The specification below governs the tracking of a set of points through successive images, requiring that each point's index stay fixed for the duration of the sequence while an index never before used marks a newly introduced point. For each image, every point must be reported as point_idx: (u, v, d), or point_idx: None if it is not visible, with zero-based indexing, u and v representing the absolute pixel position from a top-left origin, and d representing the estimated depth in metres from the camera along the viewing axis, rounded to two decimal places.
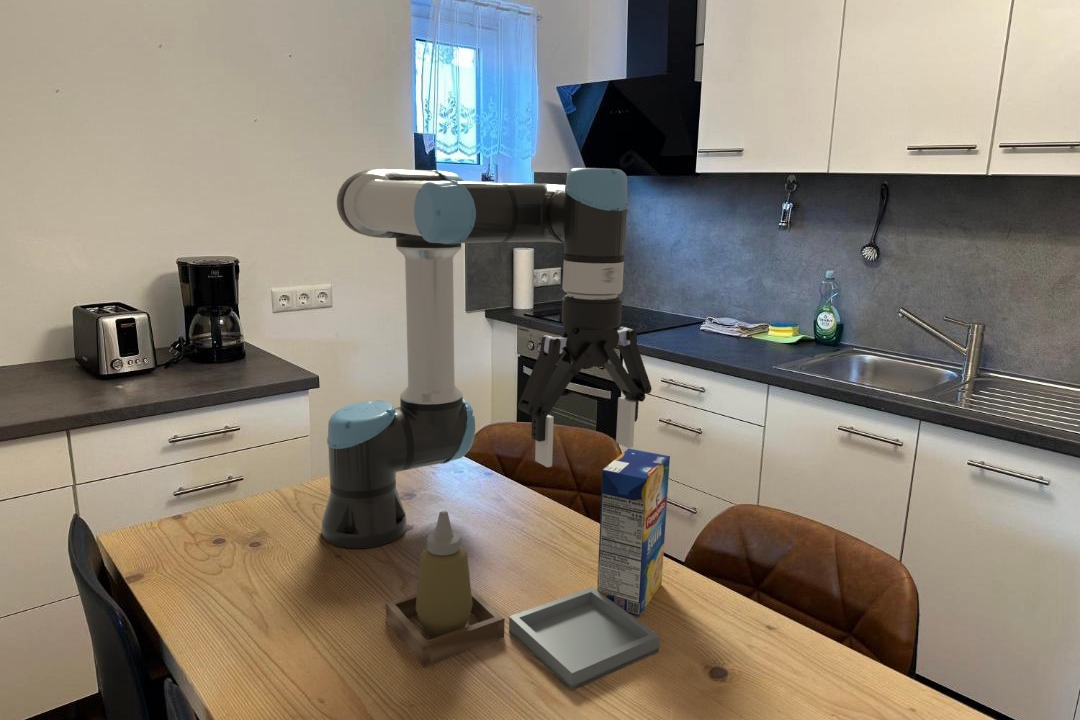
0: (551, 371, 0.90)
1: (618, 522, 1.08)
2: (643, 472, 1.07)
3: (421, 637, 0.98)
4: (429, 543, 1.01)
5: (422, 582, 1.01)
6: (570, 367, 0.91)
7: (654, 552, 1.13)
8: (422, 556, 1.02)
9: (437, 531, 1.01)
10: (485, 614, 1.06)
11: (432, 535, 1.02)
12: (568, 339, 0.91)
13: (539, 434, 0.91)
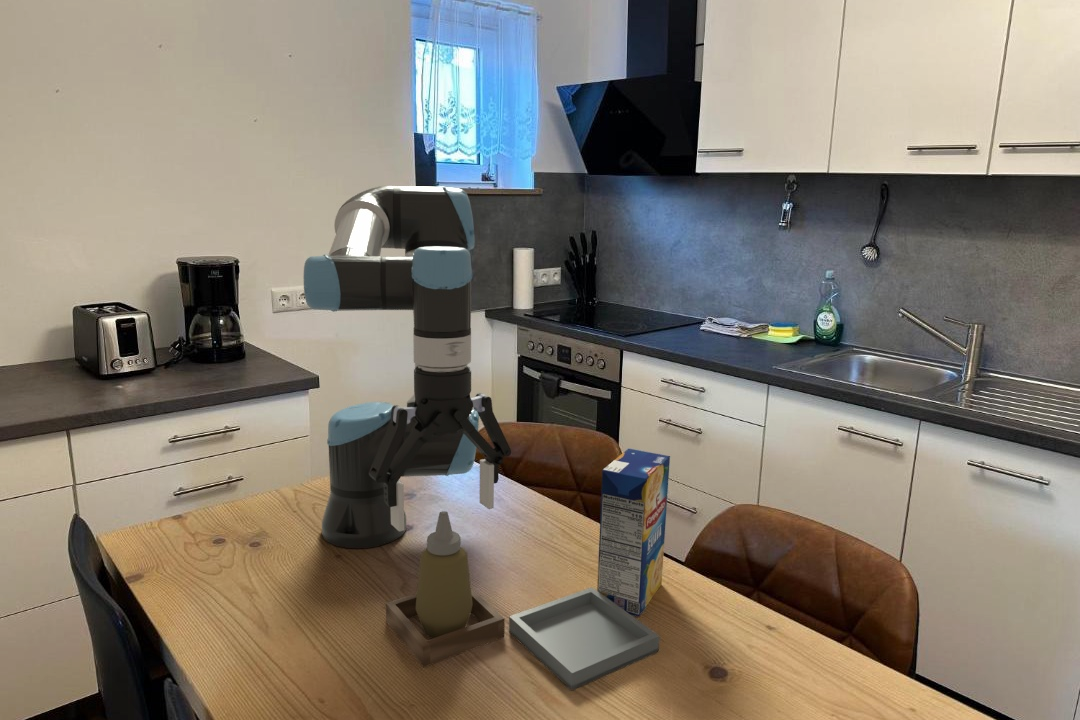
0: (398, 440, 0.94)
1: (618, 522, 1.08)
2: (643, 472, 1.07)
3: (421, 637, 0.98)
4: (429, 543, 1.01)
5: (422, 582, 1.01)
6: (419, 436, 0.95)
7: (654, 552, 1.13)
8: (422, 556, 1.02)
9: (437, 531, 1.01)
10: (485, 614, 1.06)
11: (432, 535, 1.02)
12: (417, 409, 0.95)
13: (390, 500, 0.95)
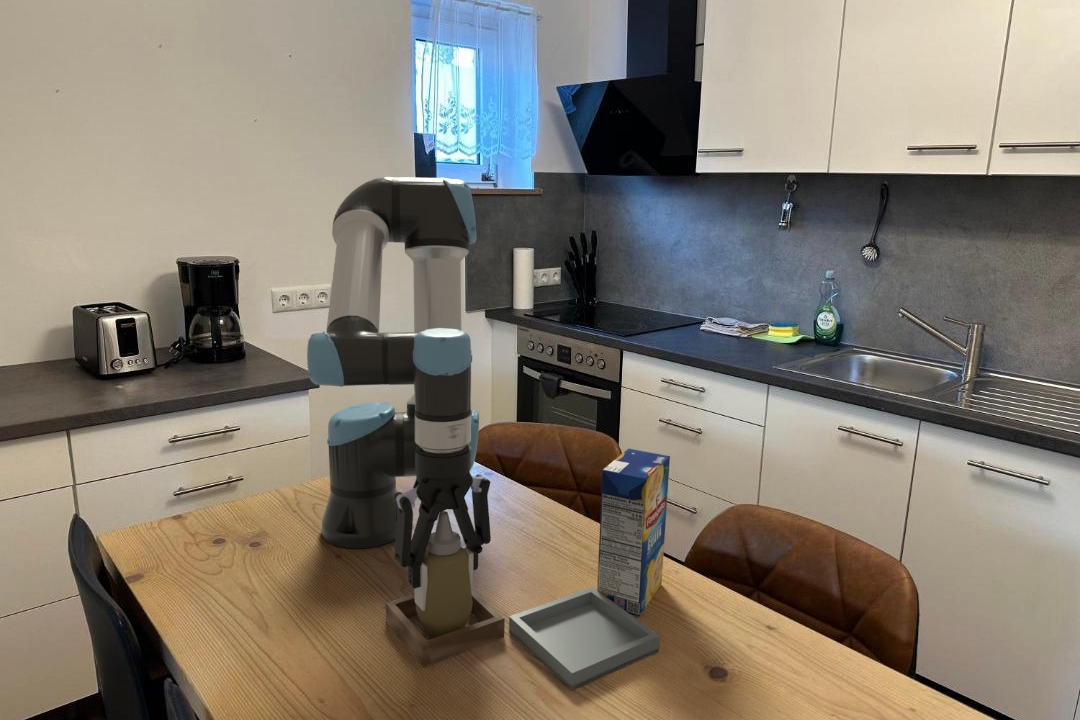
0: (410, 525, 0.97)
1: (618, 522, 1.08)
2: (643, 472, 1.07)
3: (421, 637, 0.98)
4: (429, 543, 1.01)
5: None
6: (428, 517, 0.99)
7: (654, 552, 1.13)
8: None
9: (437, 531, 1.01)
10: (485, 614, 1.06)
11: (432, 535, 1.02)
12: (417, 491, 0.97)
13: (414, 582, 1.00)
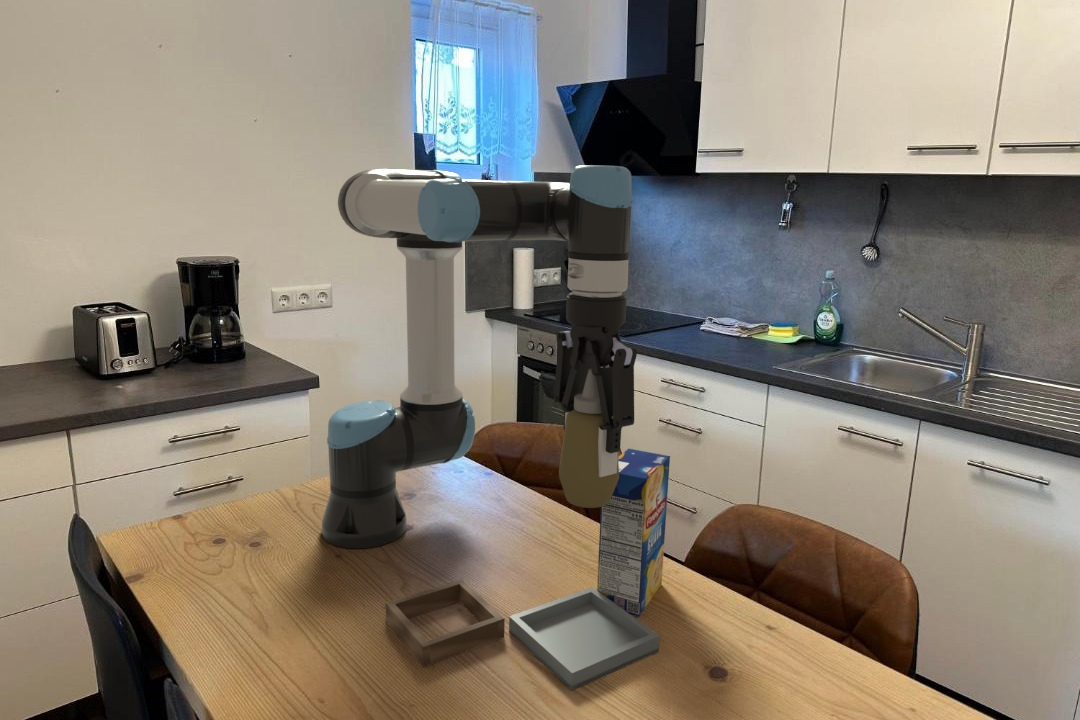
0: (560, 362, 0.98)
1: (618, 522, 1.08)
2: (643, 472, 1.07)
3: (421, 637, 0.98)
4: None
5: None
6: None
7: (654, 552, 1.13)
8: None
9: None
10: (485, 614, 1.06)
11: None
12: None
13: (564, 425, 1.00)
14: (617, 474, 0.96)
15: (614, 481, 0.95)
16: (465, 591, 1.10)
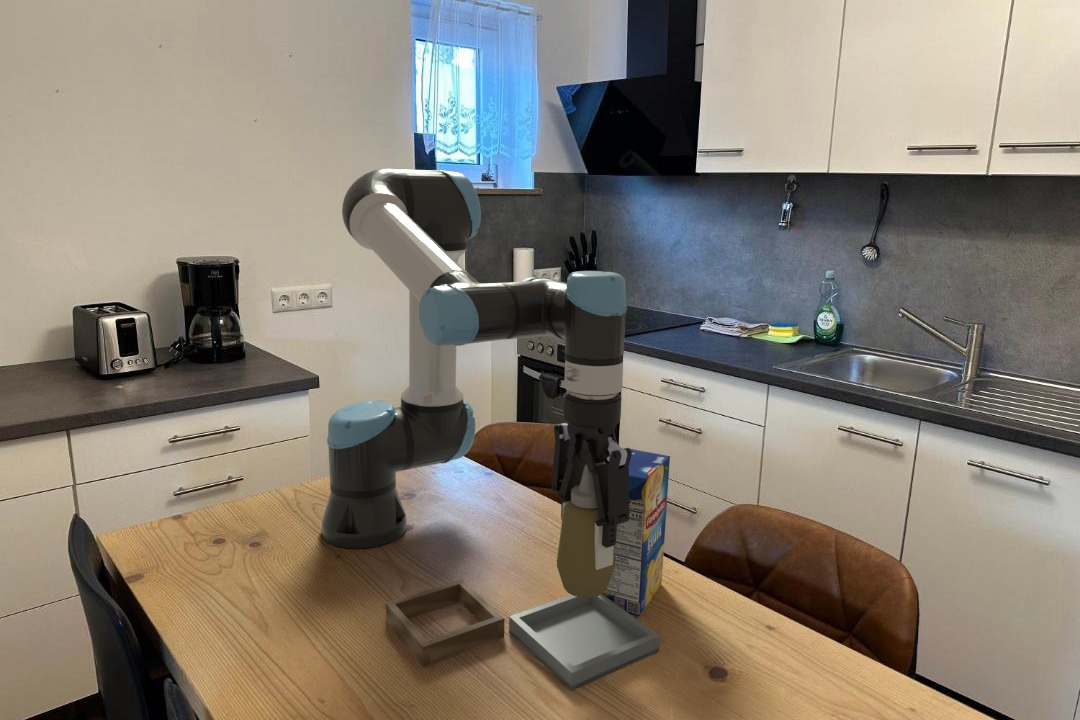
0: (558, 454, 1.01)
1: None
2: (643, 472, 1.07)
3: (421, 637, 0.98)
4: None
5: None
6: None
7: (654, 552, 1.13)
8: None
9: None
10: (485, 614, 1.06)
11: None
12: None
13: (562, 514, 1.03)
14: (613, 564, 0.99)
15: (610, 572, 0.98)
16: (465, 591, 1.10)
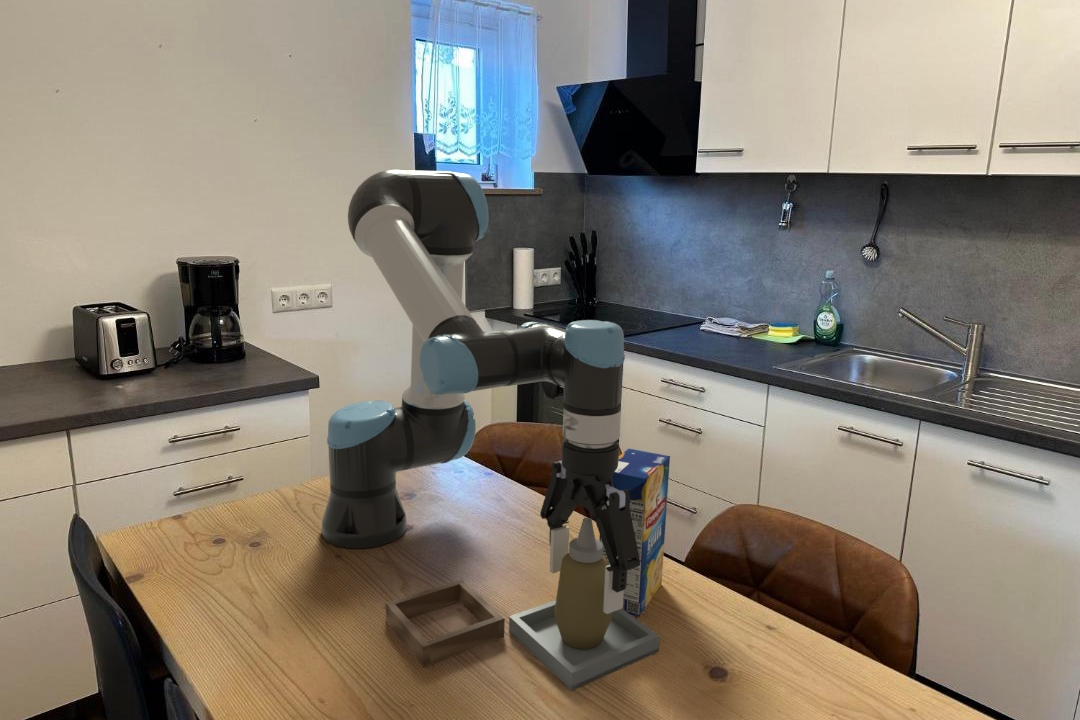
0: (552, 489, 1.03)
1: None
2: (643, 472, 1.07)
3: (421, 637, 0.98)
4: (575, 539, 1.01)
5: None
6: None
7: (654, 552, 1.13)
8: None
9: None
10: (485, 614, 1.06)
11: None
12: None
13: (550, 540, 1.06)
14: (610, 616, 1.01)
15: (607, 624, 1.00)
16: (465, 591, 1.10)
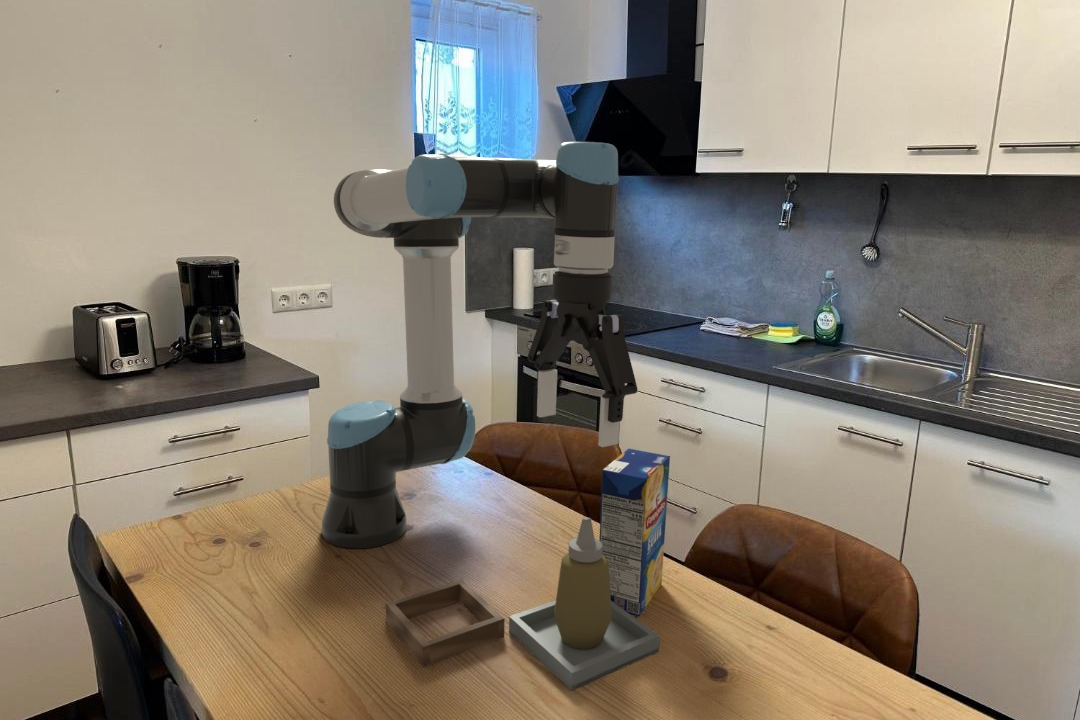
0: (541, 329, 1.00)
1: (618, 522, 1.08)
2: (643, 472, 1.07)
3: (421, 637, 0.98)
4: None
5: None
6: None
7: (654, 552, 1.13)
8: None
9: None
10: (485, 614, 1.06)
11: None
12: (558, 306, 0.97)
13: (538, 384, 1.03)
14: (609, 616, 1.01)
15: (607, 624, 1.00)
16: (465, 591, 1.10)
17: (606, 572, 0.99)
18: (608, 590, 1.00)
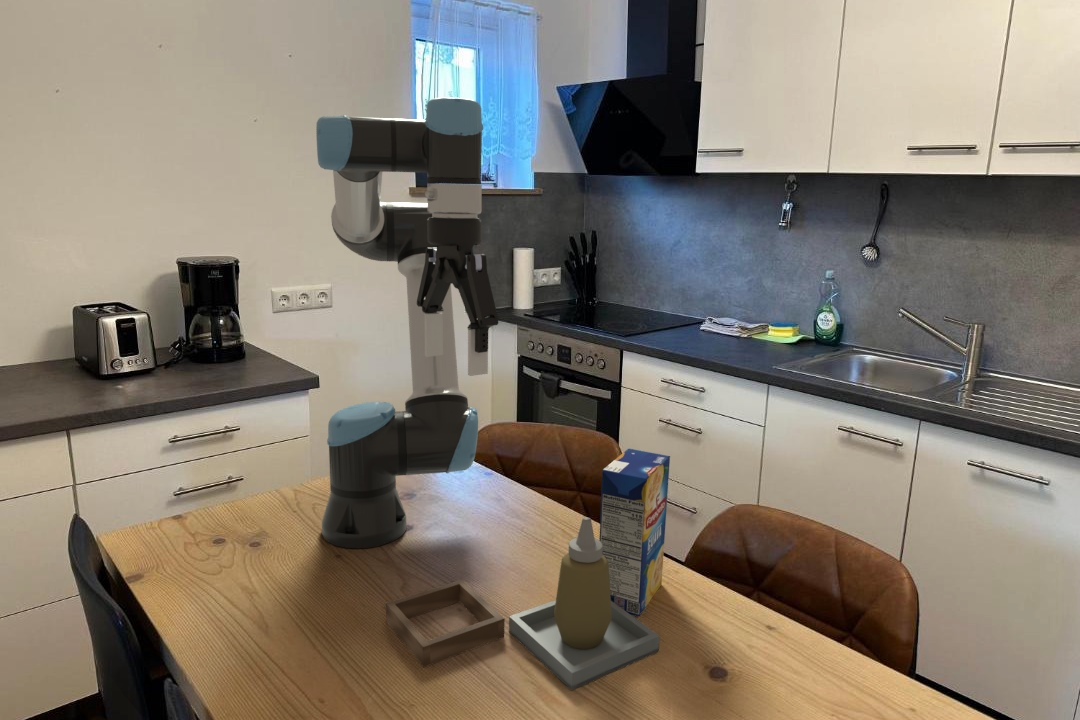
0: (425, 274, 1.09)
1: (618, 522, 1.08)
2: (643, 472, 1.07)
3: (421, 637, 0.98)
4: None
5: None
6: None
7: (654, 552, 1.13)
8: None
9: None
10: (485, 614, 1.06)
11: None
12: None
13: None
14: (609, 616, 1.01)
15: (607, 624, 1.00)
16: (465, 591, 1.10)
17: (605, 572, 0.99)
18: (608, 590, 1.00)
